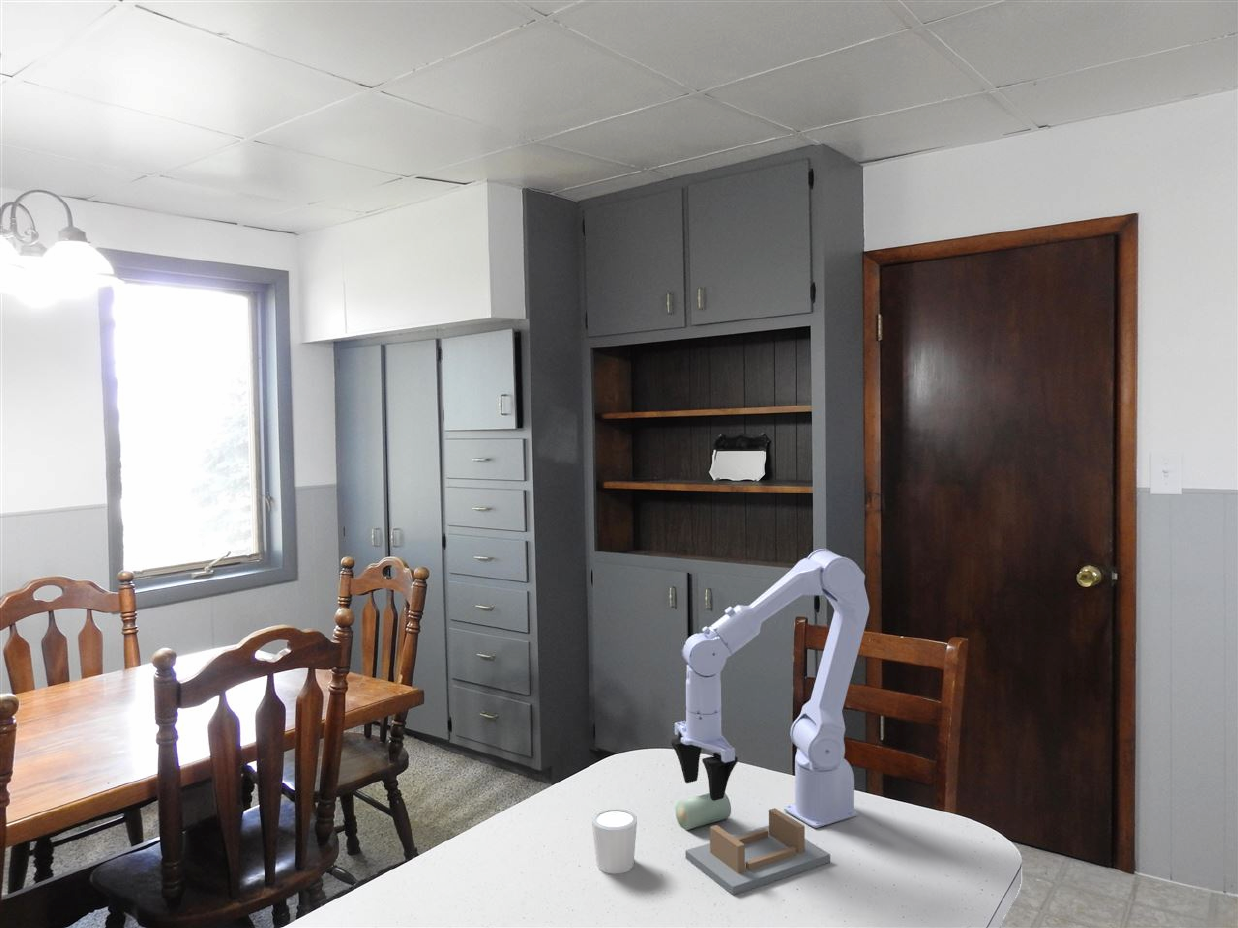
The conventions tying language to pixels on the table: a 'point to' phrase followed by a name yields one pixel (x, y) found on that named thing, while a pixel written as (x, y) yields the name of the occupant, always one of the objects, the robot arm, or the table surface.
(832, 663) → the robot arm
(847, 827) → the table surface
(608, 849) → the white cup
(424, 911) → the table surface
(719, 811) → the roll
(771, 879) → the holder
